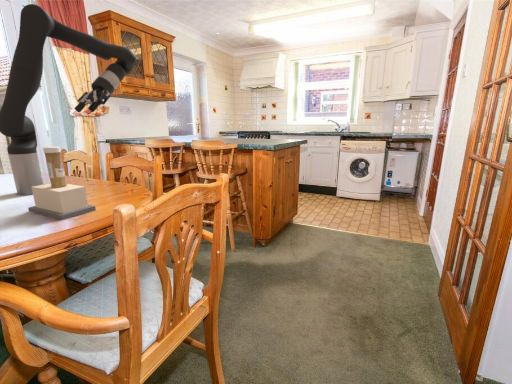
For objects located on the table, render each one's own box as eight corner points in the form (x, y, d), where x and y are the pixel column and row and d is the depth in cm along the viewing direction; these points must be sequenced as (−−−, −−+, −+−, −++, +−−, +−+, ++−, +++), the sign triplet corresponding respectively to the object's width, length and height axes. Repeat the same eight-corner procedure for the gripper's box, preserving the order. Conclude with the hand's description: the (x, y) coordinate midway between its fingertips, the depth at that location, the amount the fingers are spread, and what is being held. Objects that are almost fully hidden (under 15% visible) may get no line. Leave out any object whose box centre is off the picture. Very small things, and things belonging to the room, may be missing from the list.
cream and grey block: (29, 211, 89) (23, 187, 87) (63, 203, 99) (59, 181, 97) (62, 220, 82) (57, 193, 80) (95, 210, 91) (92, 186, 89)
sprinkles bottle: (67, 186, 88) (59, 146, 85) (50, 188, 85) (41, 147, 82) (67, 184, 92) (60, 145, 88) (51, 186, 89) (43, 146, 86)
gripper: (88, 77, 111) (64, 103, 103) (110, 75, 105) (87, 102, 98) (101, 92, 117) (80, 117, 109) (123, 90, 111) (102, 117, 104)
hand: (83, 110), depth 103 cm, fingers open, 8 cm apart
